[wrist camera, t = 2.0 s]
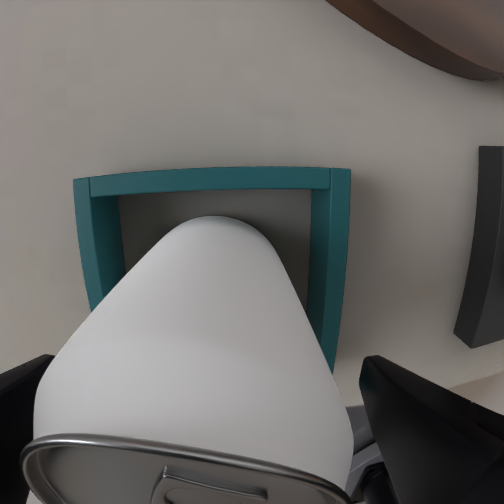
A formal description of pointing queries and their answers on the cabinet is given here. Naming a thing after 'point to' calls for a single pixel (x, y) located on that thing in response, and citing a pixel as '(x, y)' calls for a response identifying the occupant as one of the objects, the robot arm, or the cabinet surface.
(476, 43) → the round wooden coaster
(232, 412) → the can
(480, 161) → the button panel
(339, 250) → the teal square frame
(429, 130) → the cabinet surface
